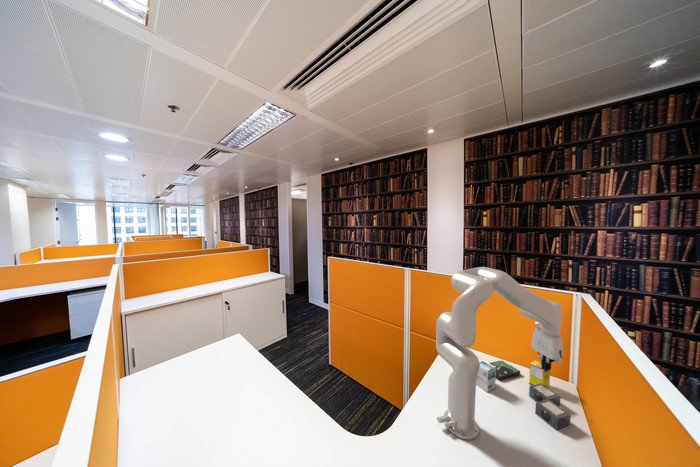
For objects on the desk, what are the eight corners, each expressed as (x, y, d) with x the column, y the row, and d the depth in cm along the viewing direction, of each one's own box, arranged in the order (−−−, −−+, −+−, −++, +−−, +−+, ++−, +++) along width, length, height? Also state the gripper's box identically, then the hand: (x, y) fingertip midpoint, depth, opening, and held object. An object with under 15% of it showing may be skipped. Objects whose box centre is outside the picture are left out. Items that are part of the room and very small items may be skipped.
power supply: (547, 410, 97) (547, 398, 96) (528, 396, 105) (529, 385, 104) (559, 407, 99) (560, 395, 98) (540, 393, 106) (541, 382, 106)
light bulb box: (495, 387, 110) (496, 366, 109) (487, 392, 107) (488, 371, 106) (474, 374, 119) (475, 355, 119) (466, 378, 116) (467, 358, 115)
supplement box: (549, 387, 110) (550, 366, 109) (543, 392, 107) (544, 369, 107) (535, 380, 115) (536, 359, 115) (528, 383, 113) (529, 362, 112)
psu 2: (556, 431, 87) (556, 418, 87) (534, 413, 95) (535, 402, 95) (569, 426, 89) (570, 414, 89) (547, 410, 97) (548, 398, 97)
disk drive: (499, 382, 114) (520, 375, 119) (499, 377, 114) (520, 370, 119) (481, 369, 124) (501, 363, 129) (482, 364, 124) (501, 359, 129)
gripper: (524, 322, 106) (522, 360, 107) (561, 339, 91) (558, 382, 93) (537, 321, 108) (535, 358, 109) (574, 336, 93) (572, 379, 94)
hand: (545, 369), depth 101 cm, fingers closed
